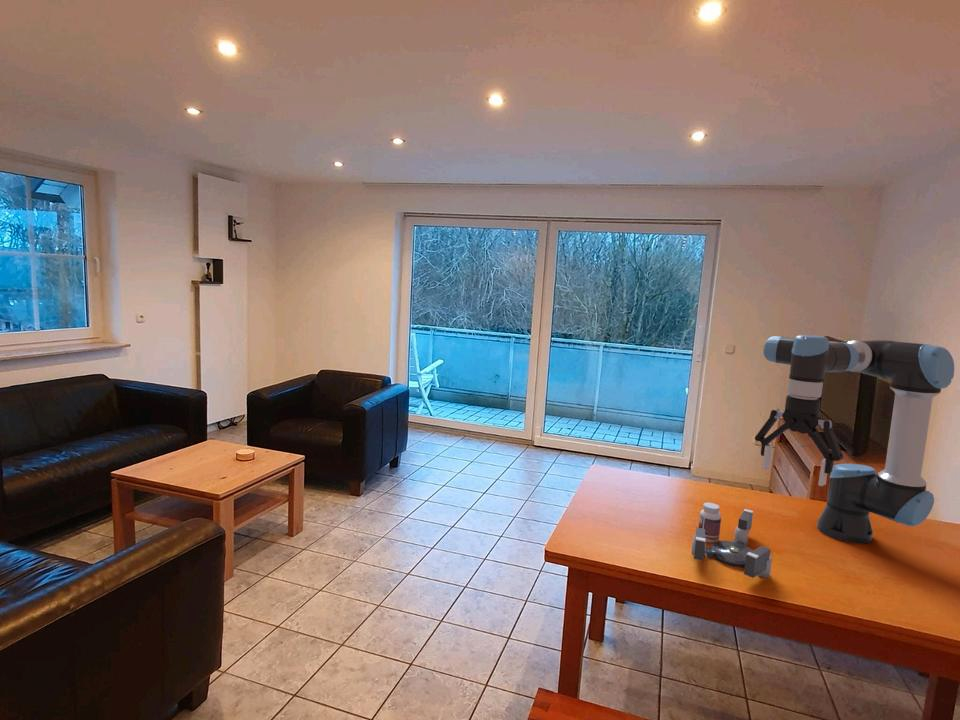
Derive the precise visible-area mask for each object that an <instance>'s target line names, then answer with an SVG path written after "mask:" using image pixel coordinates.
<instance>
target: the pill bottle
mask: <svg viewBox="0 0 960 720" xmlns="http://www.w3.org/2000/svg"><path fill="white" fill-rule="evenodd" d="M721 522H722V514H721V513H720V505H718V504H716V503H713V502H704V503H703V505H702V509H701V511H700V512H699V521H698V528H702V529H705V538H706V543H711V544H713V543H714V542H716V541H720V533H721V532H720V531H721V524H722V523H721Z"/></svg>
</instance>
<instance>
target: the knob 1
mask: <svg viewBox="0 0 960 720" xmlns="http://www.w3.org/2000/svg"><path fill="white" fill-rule="evenodd" d="M753 515H754V510H750V509H748V508H744V509H743V511H742V514H741V515H740V516H739V518H738V525H737V526H735V529H734V531H735V532H734V538H733V539H734V540H733V541H737V542H741V543H744V544H745V546H747V545H748V539H749V538H748V537H749V532H750V531H751V529H752V523H753ZM747 547H748V546H747Z"/></svg>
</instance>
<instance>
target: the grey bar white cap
mask: <svg viewBox="0 0 960 720" xmlns="http://www.w3.org/2000/svg"><path fill="white" fill-rule="evenodd" d="M752 550H753V551H752V552H748V553H747V554H746V561H745V568H744V571H743V574H744V575H746V576H747V577H750V578H752V579H754V578H755V577H757V576H758V577H760V578H764V579H768V578H770V577H771V570H772V561H773V558H772V557H771V549H770V548H769V547H766V546H764V545H760V546H758V547H757V548H755V549H752Z"/></svg>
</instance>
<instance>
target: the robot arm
mask: <svg viewBox="0 0 960 720" xmlns="http://www.w3.org/2000/svg"><path fill="white" fill-rule="evenodd" d="M762 352H763V356H764V358H765V359H766V360H767V361H768V362H772V363H775V364H780V365H781V364H782V365H789V366H790V368H789V375H788V382H787V390H786V393H787V395H786V396H785V405H784V411H781V410H780V409H779V408H776V409H772V410H771V411H770V414H769V418H767V420H766V422H765V423H764V424H763V426H762V427H761V428H760V429H759V431H758V433H757V434H756V435H755V436H754V441H758V442H759V443H760V444H761V448H760V455H761V456H762V457H763V459H762V461H763V462H762V470H764V471H766V470H768V469H770V468H771V460H772V453H773V444H772V443H771V442H773V440H775V439H776V438H778V437H779V436H781V435H782V434H783V433H785V431H787V430H790V432H796V433H797V432H798V433H800V434H803V435H804V434H807V436H808V437H809V438H811V440H812V441H813V443H814V444H815V446H816V448H817V449H818V450H819V452H820V453H821V455H822V457H823V458H824V459H822V460H821V464H820V470H819V478H818V483H817V485H818V486H819V487H823V486H825V485H826V484H827V478H828V475H829V474H830V476H829V485H828V491H827V500H826V505H825V507H824V509H823V510H822V513H821V514H820V516H819V518H818V519H817V523H816V527H817V529H818V530H819V531H820V532H821V533H823V534H824V535H826V536H828V537H831V538H832V539H836V540H839V541H843V542H847V543H851V544H852V543H853V544H861V545H863V544H868V543H871V542H872V541H873V535H874V532H873V528H872V524H871V523H872V522H871V520H870V513H871V514H874V515H876V516H879V517H881V518H885V519H887V520H890V521H893V522H895V523H897V524H901V525H905V526H907V527H917V526H919V525H921V524H922V523H923V522H924V521H925V520H926V519H927V518H928V517H929V515H930V513H931V511H932V510H933V507H934V503H935V497H934V494H933V493H932V492H931V491H930V490H927V484H928V483H927V481H926V480H925V479H924V478H923V477H922V473H923V464H924V458H925V451H926V444H927V439H928V432H929V425H930V419H931V414H932V413H931V411H932V406H933V405H932V404H933V398H935V397H936V396H939V395H940V394H941V392H942V391H941V390H942V389H945V388H947V387H949V386H950V385H951V383H952V380H953V379H954V375H955V362H954V361H955V360H954V358H953V356H952V354H951V352H950V351H949V350H948V349H946V348H945V347H942V346H938V345H933V344H927V343H917V342H905V341H896V340H887V339H885V340H880V339H878V340H856V339H855V340H851V341H848V342H839V341H831V340H830V341H829V338H828V337H826V336H821V335H809V334H806V335H805V334H800V335H796V336H795V337H788V336H783V335H782V336H781V335H779V336H777V335H775V336H773V335H772V336H770V337H769V338H768V339H767V340H766V341H765V342H764V345H763V351H762ZM843 372H852V373H861V374H863V375H868V376H872V377H876V378H879V379H883V380H888V381H889V380H890V383H889V388H890V390H891V391H893V392H894V401H893V408H892V416H891V421H890V429H889V436H888V437H889V438H888V445H887V451H886V458H885V464H884V465H885V466H884V469H882V470H881V471H879V472H878V473H877V470H876V469H875V468H874V467H872V466H869V465H864V464H857V463H838V464H835V465H834V463H835V462H839V461H841V460H843V459H844V455H843V452H842V450H841V447H840V444H839V441H838V440H837V436H836V434H835V431H834V427H833V426H834V425H833V424H834V422H833V420H832V419H827V420H825V419H820V418H819V415H820V409H821V399H820V398H821V397H822V395H823V394H822V393H823V386H824V379H825V373H843ZM781 417H782V420H783V421H784V423H783V424H782V425H780V426H779V427H778V428H776V430H774V431H773V432H771V433H770V434H768V433H769V432H770V430H771V429H772V427H773V426H774V424H776V422H777V421H778V420H779V419H781ZM818 425H819V426H820V428H821V429H823V433H824V436H825V438H826V441H827V443H826V442H825V440H824V439H823V437H822V436H821V434H820V432H819V430H818V429H817V426H818ZM767 434H768V435H767ZM766 435H767V436H766ZM765 436H766V437H765ZM827 444H828V445H827Z"/></svg>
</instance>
